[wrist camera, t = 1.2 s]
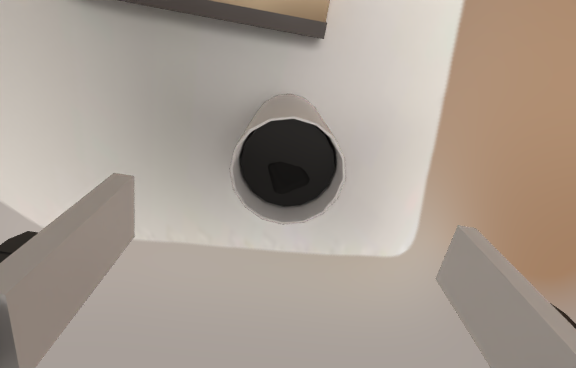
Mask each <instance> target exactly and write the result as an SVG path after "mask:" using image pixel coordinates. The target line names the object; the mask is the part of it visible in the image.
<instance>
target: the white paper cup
mask: <svg viewBox="0 0 576 368" xmlns="http://www.w3.org/2000/svg"><path fill="white" fill-rule="evenodd" d="M229 169H230V174H231V180H232V186H233V190H234V191H235V193H236V195H237V196H238V198H239V199H240V201H241V202H242V204H243V205H244V207H245V208H247V209H248V210H250V211H251V212H253V213H254V214H255V215H257V216H258V217H260V218H261V219H264V220H267V221H271V222H275V223H279V224H294V223H304V222H306V221H308V220H311V219H313V218H315V217H317V216H319V215H321V214H323V213H324V212H325V211H326V210H327V209H328V208H329V207H330V206H331V205H332V204H333V203H334V202H335V201H336V200H337V199H338V197H339V194H340V192H341V189H342V187H343V185H344V182H345V180H346V177H345V157H344V155H343V153H342V151H341V149H340V147H339V145H338V143H337V141H336V139H335V137H334V136H333V134H332V133H331V131H330V129H329V128H328V126H327V125H326V123H325V122H324V120H323V119H322V117H321V116H320V114H319V113H318V111H317V110H316V108H315V107H314V106H313V105H312V104H311V103H310V102H308V101H307V100H306V99H305V98H302V97H299V96H296V95H293V94H285V95H277V96H275V97H273V98H271V99H269V100H267V101H266V102H264V104H263V105H262V106H261V107H260V109H259V110H258V111H257V112H256V114H255V116H254V117H253V119H252V121H251V122H250V124H249V125H248V127H247V129H246V130H245V132H244V134H243V135H242V137H241V138H240V140H239V142H238V143H237V145H236V146H235V149H234V153H233V157H232V161H231V164H230V168H229Z"/></svg>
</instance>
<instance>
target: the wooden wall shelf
mask: <svg viewBox="0 0 576 368" xmlns="http://www.w3.org/2000/svg"><path fill="white" fill-rule="evenodd" d="M119 1H124V2H130V3H135V4H140V5H146V6H151V7H156V8H162V9H167V10H172V11H178V12H183V13H188V14H194V15H199V16H204V17H210V18H215V19H220V20H226V21H231V22H236V23H242V24H247V25H252V26H258V27H263V28H268V29H274V30H279V31H284V32H290V33H295V34H301V35H306V36H311V37H317V38H322V39H324V35H325V30H326V25H327V23H326V17H327V12H328V7H329V2H330V0H119Z"/></svg>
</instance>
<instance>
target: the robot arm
mask: <svg viewBox="0 0 576 368" xmlns="http://www.w3.org/2000/svg"><path fill="white" fill-rule="evenodd" d="M133 238H134V176H130V175H123V174H117V173H113V174H112V175H111V176H110V177H108V178H107V179H106V180H105V181H103V182H102V183H101V184H100V185H98V186H97V187H96V188H94V189H93V190H92V191H91V192H89V193H88V194H87V195H86V196H84V197H83V198H82V199H81V200H79V201H78V202H77V203H76V204H74V205H73V206H72V207H70V208H69V209H68V210H67V211H65V212H64V213H63V214H62V215H60V216H59V217H58V218H57V219H55V220H54V221H53V222H52V223H50V224H49V225H48V226H46V227H45V228H44V229H43V230H41V231H40V232H39V233H37V232H30V231H27V232H25V233H22V234H20V235H17V236H15V237H13V238H10V239H8V240H7V241H5V242H4V243H2V244H1V245H0V368H35V367H36V366H37V365H38V363H39V362H40V361H41V360H42V358H43V357H44V356H45V354H46V353H47V352H48V350H49V349H50V348H51V346H52V345H53V344H54V342H55V341H56V340H57V338H58V337H59V336H60V334H61V333H62V332H63V330H64V329H65V328H66V326H67V325H68V324H69V323H70V321H71V320H72V319H73V317H74V316H75V315H76V313H77V312H78V311H79V309H80V308H81V307H82V305H83V304H84V303H85V301H86V300H87V299H88V297H89V296H90V295H91V294H92V292H93V291H94V289H95V288H96V287H97V286H98V284H99V283H100V282H101V280H102V279H103V277H104V276H105V275H106V274H107V272H108V271H109V270H110V268H111V267H112V266H113V265H114V263H115V262H116V260H117V259H118V258H119V257H120V255H121V254H122V253H123V251H124V250H125V248H126V247H127V246H128V245H129V243H130V242H131V241H132V239H133ZM436 280H437V282H438V284H439V285H440V287H441V288H442V290H443V291H444V293H445V295H446V296H447V298H448V300H449V301H450V303H451V305H452V306H453V308H454V309H455V311H456V313H457V314H458V316H459V318H460V319H461V321H462V322H463V324H464V325H465V327H466V329H467V330H468V332H469V334H470V335H471V337H472V339H473V340H474V342H475V343H476V345H477V347H478V348H479V350H480V351H481V353H482V355H483V356H484V358H485V360H486V361H487V362H488V364H489V366H490V368H576V324H575V323H574V322H573V321H572V320H571V319H570V318H569V317H568V316H567V315H566V314H565V313H564V312H562V311H561V310H559V309H558V308H557V307H555V306H554V305H552V304H551V303H549V302H548V301H547V300H546V299H545V298H544V297H543V296H542V295H541V294H540V293H539V292H538V291H537V290H536V289H535V288H534V287H533V286H532V284H531V283H530V282H529V281H528V280H527V279H526V278H525V277H523V275H521V273H520V272H518V270H516V268H515V267H514V266H513V265H512V264H511V263H510V262H509V261H508V260H506V258H505V257H504V256H503V255H502V254H501V253H500V252H499V251H498V250H497V249H496V248H495V247H494V246H493V245H492V244H491V243H490V242H489V241H488V240H487V239H486V238H485V237H484V236H483V235H482V234H481V233H480V232H479V231H478V230H477V229H476V228H472V227H465V226H459V225H458V226H457V229H456V231H455V234H454V236H453V238H452V241H451V243H450V245H449V248H448V250H447V253H446V255H445V258H444V260H443V262H442V265H441V267H440V269H439V272H438V274H437V277H436Z"/></svg>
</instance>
